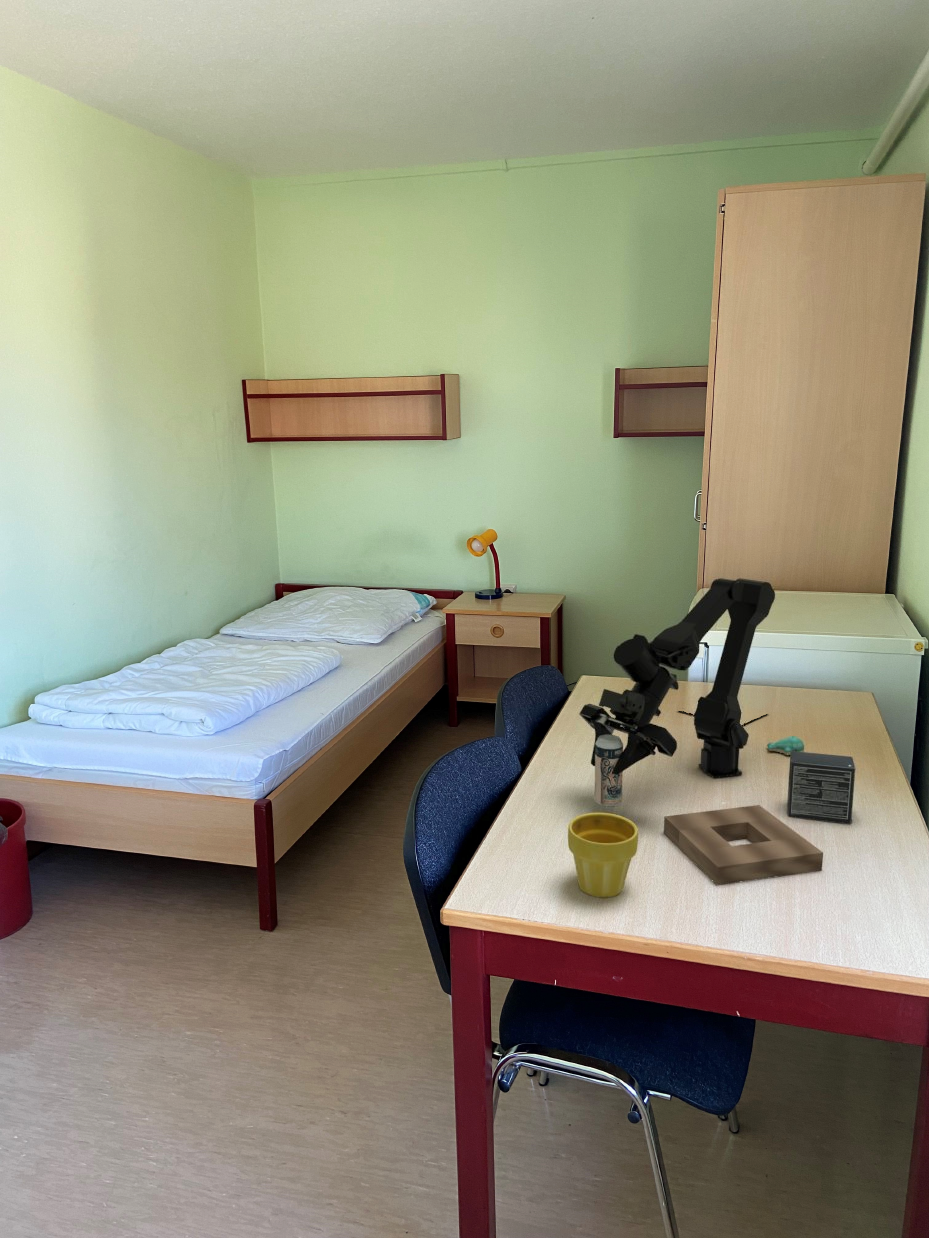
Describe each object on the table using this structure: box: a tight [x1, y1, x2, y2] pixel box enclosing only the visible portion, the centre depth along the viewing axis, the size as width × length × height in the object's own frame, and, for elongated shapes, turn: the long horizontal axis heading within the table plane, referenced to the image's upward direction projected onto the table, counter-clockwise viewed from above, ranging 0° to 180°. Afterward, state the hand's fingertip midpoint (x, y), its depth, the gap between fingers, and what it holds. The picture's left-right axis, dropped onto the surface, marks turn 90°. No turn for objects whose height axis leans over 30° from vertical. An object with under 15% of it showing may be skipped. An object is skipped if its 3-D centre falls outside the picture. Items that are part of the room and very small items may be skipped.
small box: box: [786, 751, 857, 825], centre depth 154 cm, size 11×6×10 cm, turn 71°
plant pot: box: [567, 812, 639, 898], centre depth 130 cm, size 10×10×10 cm
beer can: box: [594, 734, 624, 808], centre depth 152 cm, size 5×5×12 cm
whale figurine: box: [766, 735, 805, 756], centre depth 183 cm, size 6×7×4 cm
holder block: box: [663, 804, 824, 886], centre depth 141 cm, size 18×18×3 cm
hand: (603, 769), depth 151 cm, fingers closed on beer can, 5 cm apart
